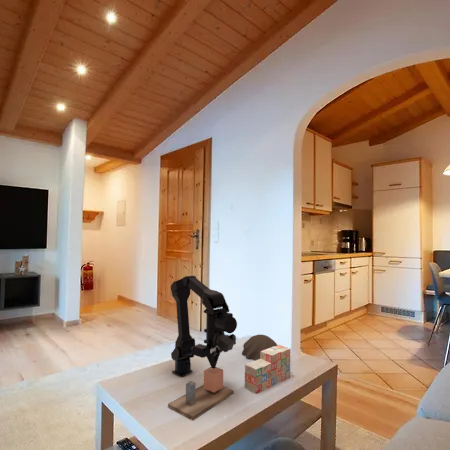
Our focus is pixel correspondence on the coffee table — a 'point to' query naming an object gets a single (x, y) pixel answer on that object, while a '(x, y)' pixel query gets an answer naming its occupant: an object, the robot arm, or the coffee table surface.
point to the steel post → (190, 393)
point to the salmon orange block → (213, 379)
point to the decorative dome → (257, 346)
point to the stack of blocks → (268, 369)
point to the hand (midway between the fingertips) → (213, 368)
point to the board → (200, 402)
